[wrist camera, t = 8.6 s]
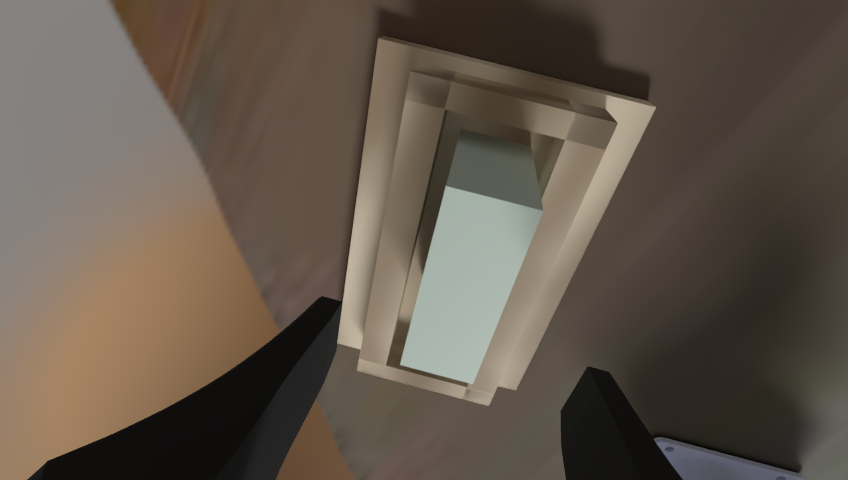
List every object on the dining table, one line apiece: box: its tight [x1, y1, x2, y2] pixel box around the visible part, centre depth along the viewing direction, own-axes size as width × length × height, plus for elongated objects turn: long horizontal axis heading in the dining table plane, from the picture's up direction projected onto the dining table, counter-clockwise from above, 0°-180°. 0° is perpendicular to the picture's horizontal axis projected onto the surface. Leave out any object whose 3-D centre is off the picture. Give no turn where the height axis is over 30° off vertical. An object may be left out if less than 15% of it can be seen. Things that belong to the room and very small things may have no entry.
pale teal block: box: [400, 129, 544, 384], centre depth 17 cm, size 3×8×6 cm, turn 168°
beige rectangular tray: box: [337, 36, 656, 406], centre depth 20 cm, size 11×17×3 cm, turn 168°
